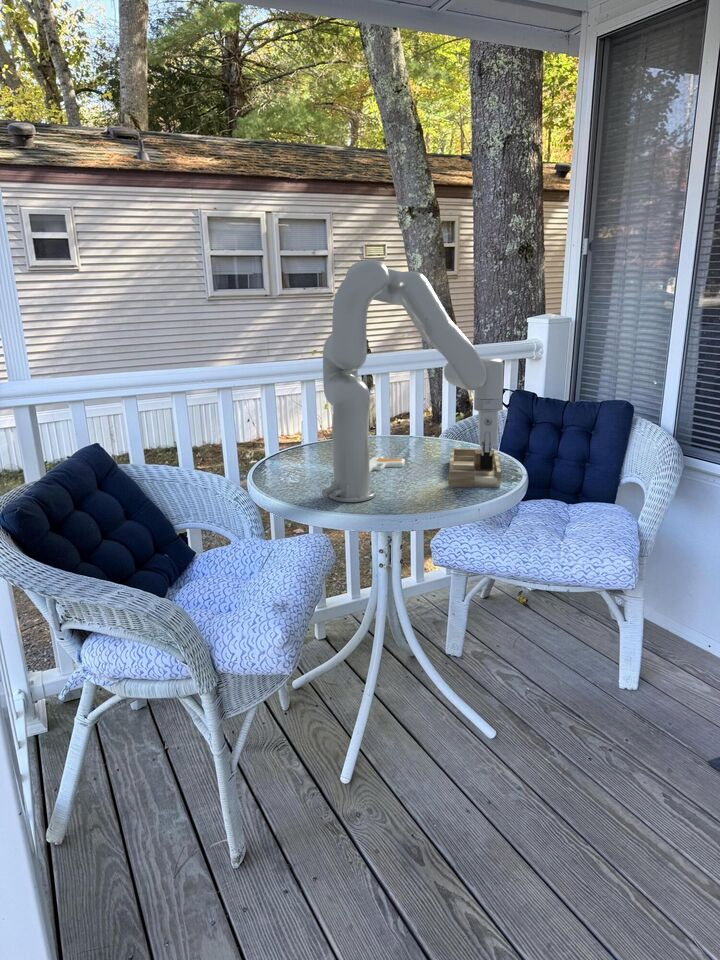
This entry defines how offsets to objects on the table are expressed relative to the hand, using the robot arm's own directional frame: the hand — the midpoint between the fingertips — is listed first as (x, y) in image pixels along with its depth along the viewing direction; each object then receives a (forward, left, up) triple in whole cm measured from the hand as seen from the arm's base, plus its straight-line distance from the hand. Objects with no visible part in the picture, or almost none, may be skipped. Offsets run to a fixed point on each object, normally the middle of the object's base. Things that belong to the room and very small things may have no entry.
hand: (485, 468), depth 179 cm
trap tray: (+5, +7, -4) cm, 9 cm away
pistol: (-9, +31, -5) cm, 33 cm away
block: (+4, +3, -1) cm, 5 cm away
